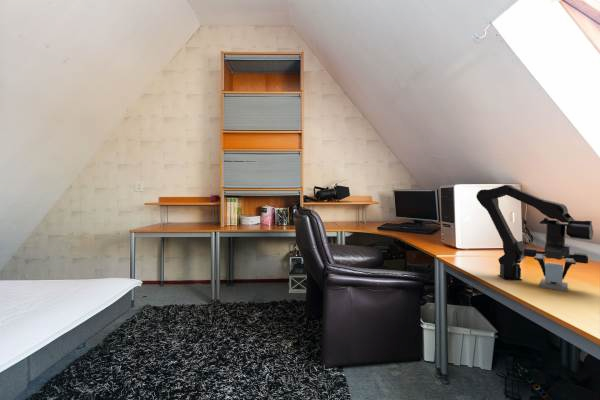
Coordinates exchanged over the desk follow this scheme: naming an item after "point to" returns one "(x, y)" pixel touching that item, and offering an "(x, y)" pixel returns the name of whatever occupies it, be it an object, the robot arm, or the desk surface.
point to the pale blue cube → (553, 272)
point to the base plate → (554, 285)
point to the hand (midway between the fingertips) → (553, 277)
